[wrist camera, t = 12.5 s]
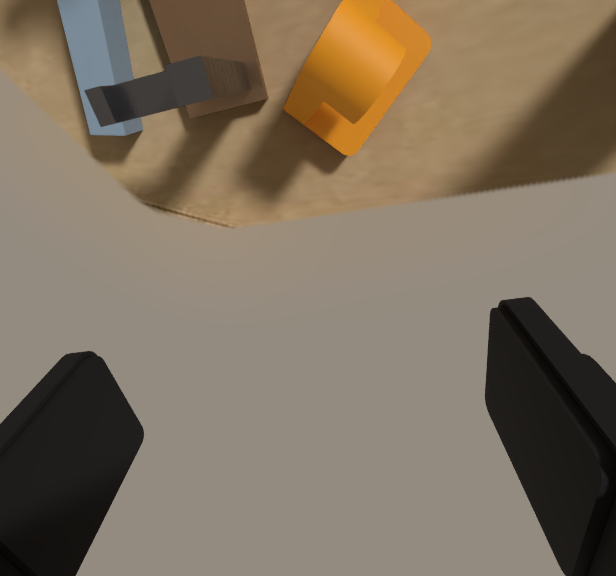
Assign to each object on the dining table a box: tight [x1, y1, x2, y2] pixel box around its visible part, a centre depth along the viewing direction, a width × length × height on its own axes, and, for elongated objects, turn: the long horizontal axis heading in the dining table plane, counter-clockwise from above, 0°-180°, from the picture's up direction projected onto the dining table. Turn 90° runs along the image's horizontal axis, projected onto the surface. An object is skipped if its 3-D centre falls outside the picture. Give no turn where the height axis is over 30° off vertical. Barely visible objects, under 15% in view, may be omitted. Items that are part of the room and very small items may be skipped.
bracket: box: [283, 0, 431, 156], centre depth 28 cm, size 11×7×12 cm, turn 145°
